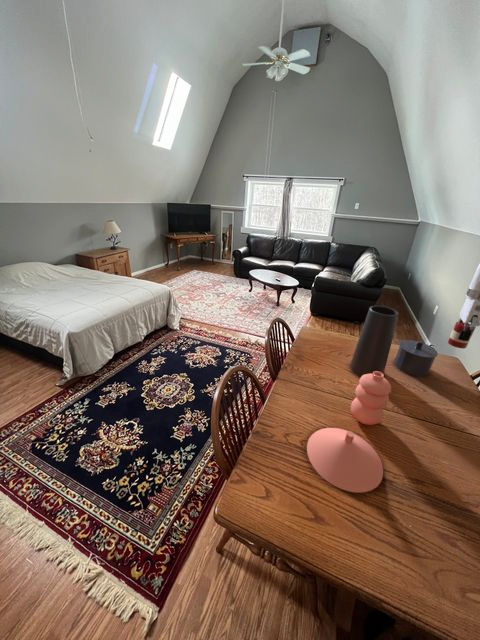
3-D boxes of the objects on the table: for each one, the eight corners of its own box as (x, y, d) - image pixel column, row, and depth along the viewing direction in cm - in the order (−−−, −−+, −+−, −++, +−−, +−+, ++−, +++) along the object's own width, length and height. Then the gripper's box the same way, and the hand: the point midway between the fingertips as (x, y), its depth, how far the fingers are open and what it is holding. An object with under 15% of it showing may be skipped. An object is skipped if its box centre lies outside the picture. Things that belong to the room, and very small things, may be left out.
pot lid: (428, 344, 124) (431, 336, 122) (442, 361, 111) (446, 353, 109) (394, 340, 126) (397, 332, 125) (404, 356, 114) (407, 347, 112)
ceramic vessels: (370, 510, 65) (393, 457, 57) (294, 459, 77) (303, 409, 69) (400, 426, 90) (419, 381, 82) (339, 397, 102) (350, 355, 94)
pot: (421, 361, 127) (428, 343, 123) (433, 378, 115) (441, 359, 111) (390, 356, 130) (396, 339, 126) (399, 373, 118) (406, 354, 114)
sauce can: (461, 342, 112) (470, 322, 108) (469, 349, 107) (479, 329, 103) (444, 339, 113) (452, 320, 110) (452, 347, 108) (460, 327, 104)
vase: (344, 369, 119) (359, 308, 106) (358, 358, 127) (374, 301, 115) (375, 384, 110) (395, 320, 97) (388, 371, 118) (408, 311, 106)
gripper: (500, 303, 92) (478, 348, 100) (484, 290, 106) (466, 330, 114) (473, 299, 95) (454, 343, 103) (462, 286, 109) (445, 326, 117)
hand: (460, 336), depth 108 cm, fingers closed on sauce can, 6 cm apart
